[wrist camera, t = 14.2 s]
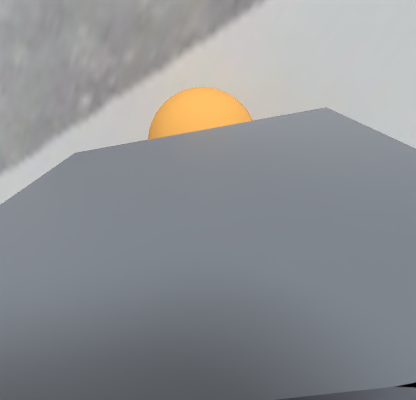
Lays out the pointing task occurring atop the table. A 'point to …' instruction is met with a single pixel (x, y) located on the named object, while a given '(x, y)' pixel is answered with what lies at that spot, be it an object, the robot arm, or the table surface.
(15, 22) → the table surface
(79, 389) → the grey matte cube
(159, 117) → the ball
